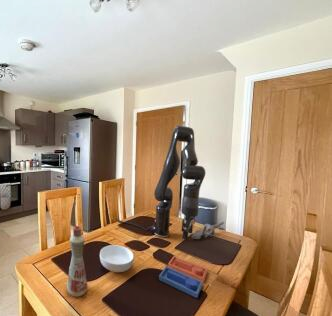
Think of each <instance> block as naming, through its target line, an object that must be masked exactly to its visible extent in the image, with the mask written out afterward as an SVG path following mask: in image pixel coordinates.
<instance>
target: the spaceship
mask: <svg viewBox="0 0 332 316" xmlns="http://www.w3.org/2000/svg"><path fill="white" fill-rule="evenodd" d="M224 224H225V222H224V221H221V222H219V223H216V224H213V225H211V224H210V223H205V224H204V225H203V227H202V226H200V227H198V229H197V230H195V231H194V232H193V233H192V236H191V238H192V239H194V240H200V239H201V238H202V237H204V238H207V237H208V236H213V235H215V233H216V231H215V230H216V229H217V228H220V227H221V226H223V225H224Z"/></svg>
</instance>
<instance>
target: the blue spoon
mask: <svg viewBox="0 0 332 316" xmlns="http://www.w3.org/2000/svg"><path fill="white" fill-rule="evenodd" d="M167 277H168V278H170V279H172V280H174V281H177V282H179V283H181V284H183V285H185V286H186V288H188V289H190V290H192V291H195V290H196V289H197V282H196V281H195V280H194V279H191V278H186V277H184V276H182V275H180V274H177V273H175V272H173V271H170V270H168V271H167Z"/></svg>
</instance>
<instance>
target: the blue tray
mask: <svg viewBox="0 0 332 316" xmlns="http://www.w3.org/2000/svg"><path fill="white" fill-rule="evenodd" d="M168 270H170V271H173V272H175V273H177V274H180V275H182V276H184V277H186V278H191V279H194V278H192V277H190V276H187V275H185V274H183V273H180V272H178V271H176V270H173V269H171V268H169V267H168V266H164V268H163V270H162V271H161V272H160V274H159V275H158V281H161V282H163V283H165V284H167V285H168V286H171V287H172V288H175V289H176V290H179V291H180V292H183V293H184V294H187V295H189V296H192V297H194V298H195V299H198V298H199V295H200V293H201V290H202V287H203V282H201V281H199V280H197V279H194V280H195V281H196V282H197V289H196V290H195V291H192V290H190V289H188V288H186V286H185V285H183V284H181V283H179V282H177V281H174V280H172V279H170V278H168V277H167V271H168Z"/></svg>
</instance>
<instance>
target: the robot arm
mask: <svg viewBox="0 0 332 316" xmlns="http://www.w3.org/2000/svg"><path fill="white" fill-rule="evenodd" d="M178 142H181V143H186V145H185V146H184V147H183V148H182V150H181V158H180V155H179V151H178V147H177V146H178ZM181 159H182V167H181V171H180V175H181V177H182V179H184V180H189V181H193V182H191V183H185V184H184V185H183V193H182V198H181V199H182V200H181V210H180V211H181V214H182V215H184V217H183V219H182V221H181V232H182V239H183V240H186V241H187V240H188V238H189V234H192V235H193V230H194V229H193V228H194V226H195V220H196V217H198V216H199V207H200V191H201V187H202V185H203V182H204V180H205V177H206V173H207V172H206V169H205V167H204V166H202V165H198V163H199V158H198V155H197V153H196V143H195V131H194V128H192V127H190V126H185V125H178V124H177V125H175V127H174V128H173V131H172V134H171V138H170V142H169V147H168V151H167V154H166V157H165V160H164V163H163V167H162V170H161V173H160V176H159V179H158V182H157V184H156V187H155V189H154V193H153V197H154V199H155V200H156V201H157V202H159V203H157V204H156V206H155V216H154V217H155V219H154V220H153V225H151V226H148V227H147V228H145V227H143V226H141V225H139V224H135V223H133V222H127V221H123V220H119V219H118V218H114V219H113V220H114V221H117V222H119V223H122V224H127V225H132V226H135V227H138V228H140V229H142V230H145V231H149V230H151V231H153V234H154V235H155V236H157V237H159V238H168V237H169V235H170V223H171V222H170V221H171V220H170V218H171V209H172V207H173V199H174V193H173V190H172V188H171V187H170V186H169V184H170V183H171V182H172V180H173V179H174V178H175V177H176V175H177V174H178V173H179V169H180V166H181Z"/></svg>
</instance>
